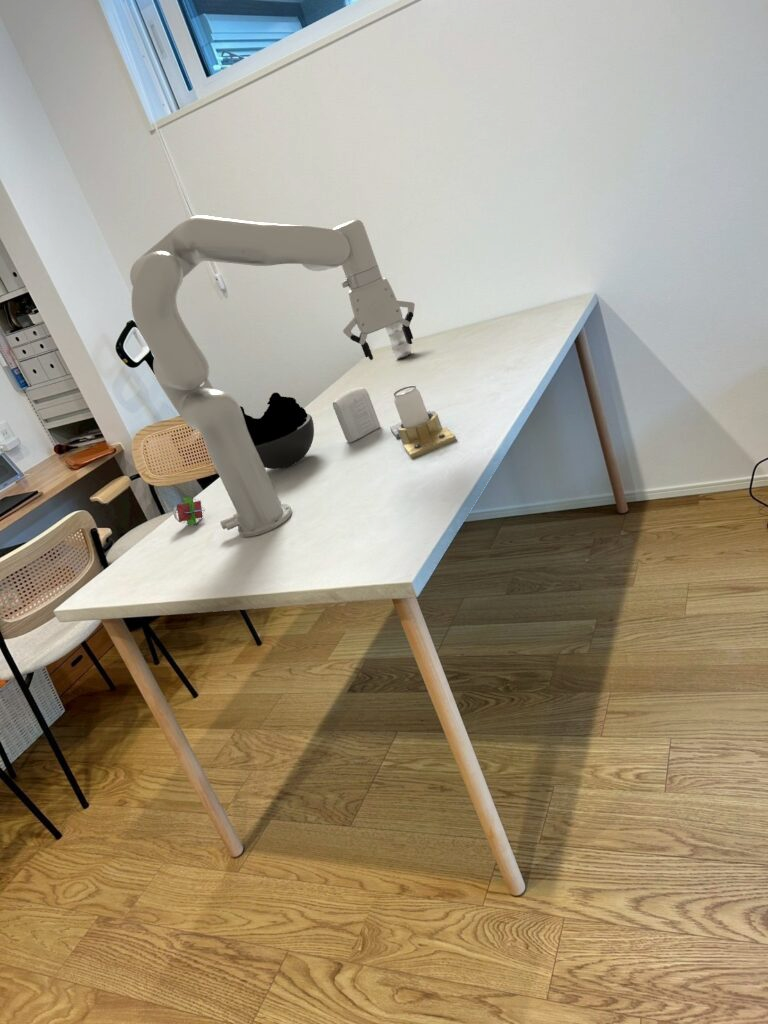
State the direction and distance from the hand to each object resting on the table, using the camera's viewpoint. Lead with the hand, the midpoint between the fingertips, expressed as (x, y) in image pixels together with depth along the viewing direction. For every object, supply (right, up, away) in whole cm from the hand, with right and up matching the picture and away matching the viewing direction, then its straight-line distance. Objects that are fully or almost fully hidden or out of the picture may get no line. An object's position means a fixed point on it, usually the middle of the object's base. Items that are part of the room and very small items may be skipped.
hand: (390, 351), depth 181 cm
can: (+8, -19, +8) cm, 22 cm away
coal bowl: (-26, -25, +26) cm, 44 cm away
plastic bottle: (+6, +17, +91) cm, 93 cm away
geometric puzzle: (-48, -40, +11) cm, 63 cm away
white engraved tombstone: (-7, -17, +27) cm, 32 cm away
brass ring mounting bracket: (+8, -19, +8) cm, 22 cm away
